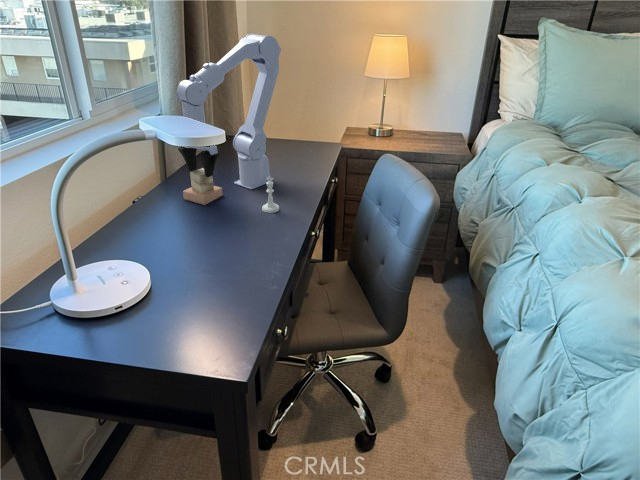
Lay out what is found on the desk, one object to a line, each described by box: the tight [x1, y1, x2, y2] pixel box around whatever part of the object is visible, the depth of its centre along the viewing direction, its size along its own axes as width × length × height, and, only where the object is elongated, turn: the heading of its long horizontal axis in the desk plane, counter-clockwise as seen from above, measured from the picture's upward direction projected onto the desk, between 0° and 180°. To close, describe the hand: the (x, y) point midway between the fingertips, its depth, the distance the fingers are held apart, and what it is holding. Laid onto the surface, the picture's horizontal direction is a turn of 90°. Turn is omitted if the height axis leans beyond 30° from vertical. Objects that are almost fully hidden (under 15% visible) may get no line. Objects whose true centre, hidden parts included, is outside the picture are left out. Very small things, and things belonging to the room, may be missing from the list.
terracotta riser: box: [182, 185, 223, 206], centre depth 133 cm, size 8×8×3 cm
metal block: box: [189, 167, 215, 194], centre depth 131 cm, size 4×4×6 cm
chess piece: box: [261, 175, 280, 214], centre depth 125 cm, size 5×5×10 cm
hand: (200, 172), depth 130 cm, fingers open, 7 cm apart
